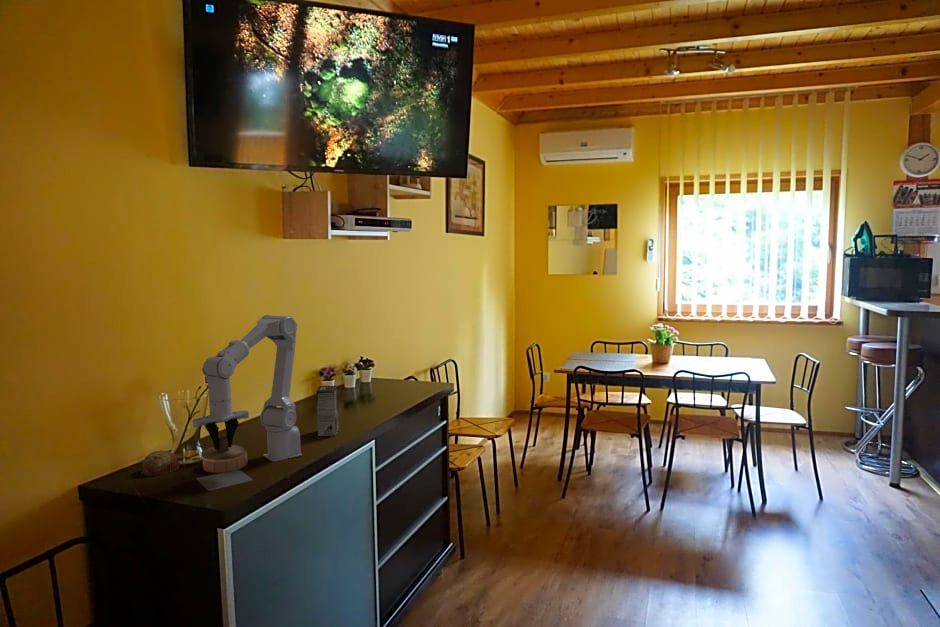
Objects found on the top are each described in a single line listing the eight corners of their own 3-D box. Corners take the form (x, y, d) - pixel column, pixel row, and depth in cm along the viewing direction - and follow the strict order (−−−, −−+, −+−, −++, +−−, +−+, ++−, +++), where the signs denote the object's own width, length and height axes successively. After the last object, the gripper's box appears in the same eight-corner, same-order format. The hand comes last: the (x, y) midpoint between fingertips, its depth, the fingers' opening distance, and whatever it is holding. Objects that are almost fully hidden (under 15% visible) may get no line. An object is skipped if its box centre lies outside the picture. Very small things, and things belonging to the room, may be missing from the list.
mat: (239, 470, 184) (239, 468, 184) (253, 481, 174) (253, 480, 174) (196, 479, 176) (195, 478, 176) (208, 492, 167) (208, 490, 167)
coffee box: (320, 430, 225) (318, 385, 223) (338, 429, 226) (337, 384, 224) (317, 437, 216) (315, 391, 214) (336, 436, 217) (334, 390, 215)
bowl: (239, 457, 196) (238, 446, 195) (252, 467, 186) (252, 455, 186) (198, 465, 188) (198, 454, 188) (210, 476, 179) (210, 464, 178)
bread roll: (144, 481, 186) (130, 460, 183) (175, 459, 192) (162, 439, 189) (155, 490, 179) (141, 468, 176) (188, 467, 185) (174, 445, 182)
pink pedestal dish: (236, 445, 183) (236, 430, 182) (249, 454, 174) (249, 438, 174) (196, 452, 176) (196, 436, 175) (208, 461, 167) (208, 445, 167)
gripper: (196, 406, 166) (199, 456, 167) (251, 398, 175) (254, 445, 176) (189, 402, 171) (192, 450, 173) (242, 393, 180) (245, 440, 182)
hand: (222, 447), depth 175 cm, fingers closed on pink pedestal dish, 3 cm apart
